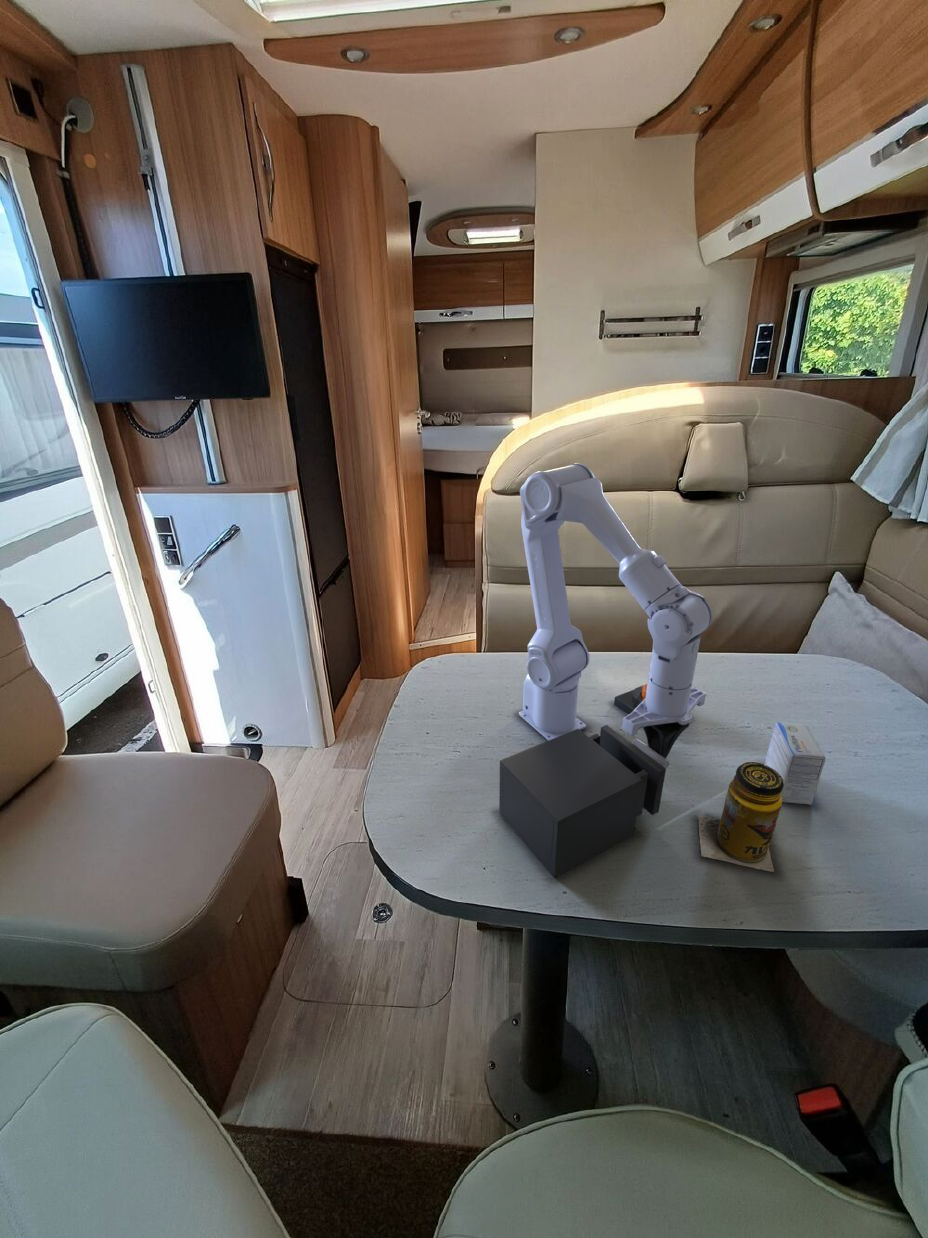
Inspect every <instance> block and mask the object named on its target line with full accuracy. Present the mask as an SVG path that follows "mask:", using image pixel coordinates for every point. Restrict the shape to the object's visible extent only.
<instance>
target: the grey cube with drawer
mask: <svg viewBox="0 0 928 1238" xmlns="http://www.w3.org/2000/svg"><path fill="white" fill-rule="evenodd" d="M589 737H590V736H588V735H587V734H585V733H584V732H583V731H582V730H579V729H576V730H573V731H571V732H568V733H566V734H563V735H561V736H559V737H556V738H554V739H551V740H549V741H548V740H546V741H544V742H541V743H540V744H539V743H538V744H537V745H534V746H531V747H529V748H527V749H524V750H521V751H520V752H517V753H514V754H512V755H510V756H508V757H505V758H502V759H500V760H499V799H498V800H499V807H498V809H499V815H500V816H501V817H502V819H504V821H505V822H506V823H507V824H508V825H509V827H510V828H511V829H512V830H513V832H515V834H516V835H517V836H518V837H519V838H520V840H521V842H522V843H524V845H525V846H526V847H527V848H528V849H529V850H530V851H531V853H532V854H533V855H534V856H535V857H536V859H537V860H538V861H539V862H540V864H541V865H542V866H543V867H544V868H545V869H546V870H547V872H548V873H549V874H550V875H551V876H552V877H553V878H554V879H555V878H557V877H559V876H561V875H563V874H565V873H566V872H568V871H570V870H572V869H574V868H576V867H577V866H579V865H581V864H583V863H585V862H587V861H589V860H590V859H592V858H594V857H596V856H598V855H600V854H601V853H603V852H605V851H607V850H609V849H611V848H612V847H614V846H616V845H618V844H620V843H622V842H623V841H625V840H627V839H628V838H631V837H633V836H634V835H635V831H636V824H637V819H638V817H637V813H638V806H639V800H640V793H641V786H642V785H641V784H642V779H641V778H639V777H638V776H637V775H636V774H634V773H633V772H632V771H631V770H629V769H628V768H627V767H626V766H624V765H623V764H622V763H621V762H619V761H618V760H617V759H616V758H614V757H613V756H612V755H611V754H609V753H608V752H607V751H605V750H604V749H603V748H602V747H600V746H599V745H598V744H597V743H595V742H594V741H593V740H592V739H590V738H589Z"/></svg>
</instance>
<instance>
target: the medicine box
mask: <svg viewBox="0 0 928 1238" xmlns="http://www.w3.org/2000/svg"><path fill="white" fill-rule="evenodd" d="M825 763H826V756H825V754H824V753H823V751H822V749H821V748H820V746H819V744H818V742H817V740H816V739H815V737H814V735H813V734H812V732H811V730H810V728H809V727H808V725H807V724H803V723H793V722H780V721H779V722H775V724H774V727H773V729H772V735H771V739H770V742H769V746H768V750H767V753H766V758H765V762H764V765H767V766H769V767H771V768H772V769H774V770H775V771H777V772H778V773H779V775H780V776H781V777H782V779H783V783H784V787H783V789H782V793H781V798H782V803H788V804H789V803H790V804H799V805H800V804H801V805H808V806H809V805H810V806H811V805H812V804H813V802H814V799H815V795H816V792H817V788H818V786H819V783H820V778H821V776H822V773H823V769H824V766H825Z"/></svg>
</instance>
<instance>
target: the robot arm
mask: <svg viewBox="0 0 928 1238" xmlns="http://www.w3.org/2000/svg"><path fill="white" fill-rule="evenodd" d="M519 496H520V503H521V509H522V511H521V517H520V518H521V519H520V526H521V533H522V540H523V547H524V552H525V559H526V565H527V571H528V578H529V585H530V591H531V597H532V598H531V599H532V604H533V610H534V611H533V612H534V616H535V623H536V631H535V632H534V634H533V635H532V637H531V639H530V641H529V642H528V644H527V647H526V648H527V660H526V671H527V675H526V677H525V679H524V682H523V695H522V697H523V698H522V710H520V711H519V712H518V715H519V717H521V718H522V719H523V720H524V721H525V722H526V723H527V724H529V726H531V727H532V728H533V729H535V731H537V732H538V733H539V734H540V735H541V736H542V737H543V738H545V740H546V741H549V740H551V739H554V738H556V737H559V736H561V735H563V734H566V733H568V732H571V731H573V730H576V729H579V730H580V731H582V730H584V729H586V728H587V724H586V723H584V721H582V720H580V718H578V717H577V707H578V694H579V685H580V684H579V683H580V679H581V678H582V672H583V671H584V670H586V668H588V666H589V664H590V660H591V659H590V657H591V656H590V652H589V650H588V649H589V648H588V647H587V646H586V644H585V642H584V639H583V631H581V630H580V629H579V628H578V627H575V626H574V625H572V623H571V616H570V608H569V601H568V594H567V593H568V592H567V587H566V579H565V572H564V565H563V558H562V557H563V556H562V552H561V551H562V550H561V544H560V543H561V542H560V536H559V529H560V528H561V527H562V526H563V524H564V523H565V522H570V523H577V524H579V523H580V524H582V525H583V526H584V527H585V528H586V529H587V530H588V531H589V533H591V535H592V536H593V537H594V538H595V539H596V540H597V541H598V542H599V543H600V544H601V546H602V547H603V548H604V549H605V550H606V551H607V552H608V553H609V554H610V555H611V557H612V558H613V559H614V560H615V561H616V562H617V563H618V564H619V569H618V579H619V580H620V581H621V582H622V584H623V585H624V586H625V588H626V589H627V590H628V591H629V593H630V594H631V595H632V597H633V598H634V599H635V600H636V602H637V603H638V604H639V605H640V607H641V608H642V610H643V611H644V612H645V613H646V614H647V616H648V617H649V618H647V628H648V632H649V634H650V635H651V638H652V650H651V651H652V652H651V659H650V664H649V665H650V666H649V671H648V672H649V673H648V679H647V684H648V685H647V692H646V698H645V699H644V700H643V701H642V702H641V703H640V704H639V705H638V706H637V707H636V708H635V709H634V711H633V712H632V713H631V714H627V715H626V716H624V717H623V718H622V724H621V725H622V726H621V730H623V731H624V732H625V733H627V734H628V735H629V736H631V737H634V736H636V735H638V730H641V729H643V731H644V733H645V736H646V741H647V746H649V747H650V748H651V749H653V750H654V751H656V752H657V753H658V754H660V755H661V756H662V757H664V758H665V759H667V757H668V756H669V754H670V753H671V750H672V749H673V747H674V745H675V743H676V741H677V740H678V738H679V737H680V736H681V734H682V733H683V732H684V731H685V730H687V728H689V725H690V723H692V722H693V715H691V713H692V711H693V710H694V709H695V708H696V707H702V706H704V705H705V701H706V695H707V693H706V692H704V691H703V690H700V689H698V688H697V687H693V682H694V676H695V671H696V665H697V660H698V655H699V648H700V643H701V635H700V634H701V633H703V632H704V631H706V630H707V629H708V627H709V626H710V625H711V622H712V618H713V613H712V609H711V607H710V606H711V605H710V604H709V603H708V601H707V599H706V597H705V596H703V595H702V594H700V593H698V592H695V591H693V590H689V589H688V588H687V586H683V585H682V584H681V583H680V581H679V580H678V579H677V577H676V576H675V575H674V573H673V572H672V571H671V570H670V569H669V568H668V566H667V565H666V564H667V560H666V559H665V558H664V556H663V555H662V554H661V555H660V554H659V555H658V554H657V553H656V552H655V551H654V550H649V549H643V548H641V547H640V546H639V545H638V543H637V541H636V540H635V539H634V537H633V536H632V534H631V532H630V531H629V530H628V528H627V527H626V526H625V523H623V521H622V519H620V517H619V516H618V514H617V513H616V511H615V510H614V509H613V507H612V505H611V503H609V501H608V500H607V499H606V497H605V495H604V490H603V483H602V482H601V481H600V479H598V478H597V477H596V476H594V473H593V472H592V469H590V468H589V467H588V466H587V465H586V464H584V463H578V462H576V463H572V464H569V465H567V466H563V467H558V468H553V469H548V470H545V471H535V472H533V473H531V474H530V475H529V476H528V477H527V479H526V480H525V482H524V483H523V484H522V486H521V487H520V489H519ZM692 687H693V688H692Z"/></svg>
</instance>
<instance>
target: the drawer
mask: <svg viewBox="0 0 928 1238" xmlns="http://www.w3.org/2000/svg"><path fill="white" fill-rule="evenodd" d="M599 732H600V734H598V733H595V734H592V735H590V736H588V737H589V738H590V739H592V740H593V741H594V742H595V743H597V744H598V745H599V746H600V747H602V748H603V749H604V750H605V751H607V752H608V753H609V754H611V755H612V756H613V757H614V758H616V759H617V760H618V761H619V762H621V763H622V764H623V765H624V766H626V767H627V768H628V769H629V770H631V771H632V772H633V773H634V774H636V775H637V776H638V777H639V778H641V779H642V784H641V785H642V786H641V793H640V800H639V806H638V813H637V818H638V817H640V816H641V815H643V810H645V811H646V812H648V813H649V814H650V815H652V816H654V815H656V814H658V813H659V812H660V811H659V810H660V806H661V799H662V795H663V790H664V789H663V787H664V782H665V777H666V771H667V769H668V768H669V766H670V760H668V759H667V758H666V759H665V758H664V757H662V756H661V755H660V754H658V753H657V752H656V751H654V750H653V749H651V748H650V747H649V746H648V744H646V743H644V742H643V741H642V740H640V739H639V738H635V739H633V740H632V742H631V741H629V740H628V738H626V737H624V736H623V735H621V734H620V733H618V732H617V731H616V730H615V729H614V728H612V727H611V726H609V725H608V724H605V725H603V726H600V731H599Z"/></svg>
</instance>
